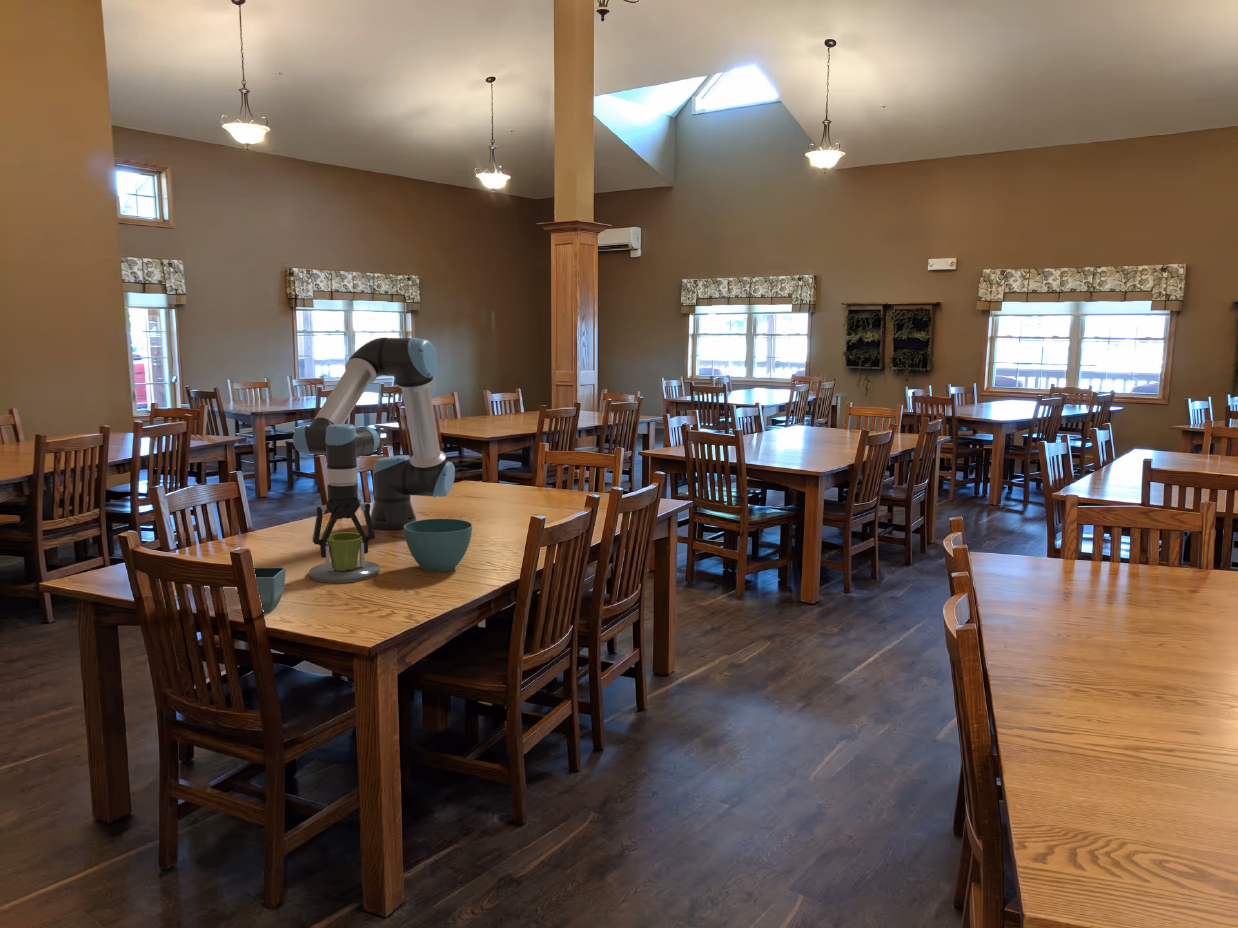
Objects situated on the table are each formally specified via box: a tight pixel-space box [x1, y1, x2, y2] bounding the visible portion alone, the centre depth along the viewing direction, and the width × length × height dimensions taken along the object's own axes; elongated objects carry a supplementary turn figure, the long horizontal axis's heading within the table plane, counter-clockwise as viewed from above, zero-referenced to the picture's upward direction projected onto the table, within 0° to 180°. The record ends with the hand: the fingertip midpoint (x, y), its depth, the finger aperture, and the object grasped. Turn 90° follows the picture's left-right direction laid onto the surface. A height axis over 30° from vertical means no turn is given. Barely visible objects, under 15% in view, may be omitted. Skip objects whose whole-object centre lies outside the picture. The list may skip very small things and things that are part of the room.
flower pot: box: [236, 566, 287, 613], centre depth 191 cm, size 9×9×9 cm
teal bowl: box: [403, 518, 473, 574], centre depth 228 cm, size 18×18×12 cm
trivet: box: [308, 559, 381, 584], centre depth 222 cm, size 18×18×1 cm
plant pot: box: [326, 531, 362, 571], centre depth 222 cm, size 9×9×9 cm
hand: (345, 567), depth 222 cm, fingers closed on plant pot, 8 cm apart
